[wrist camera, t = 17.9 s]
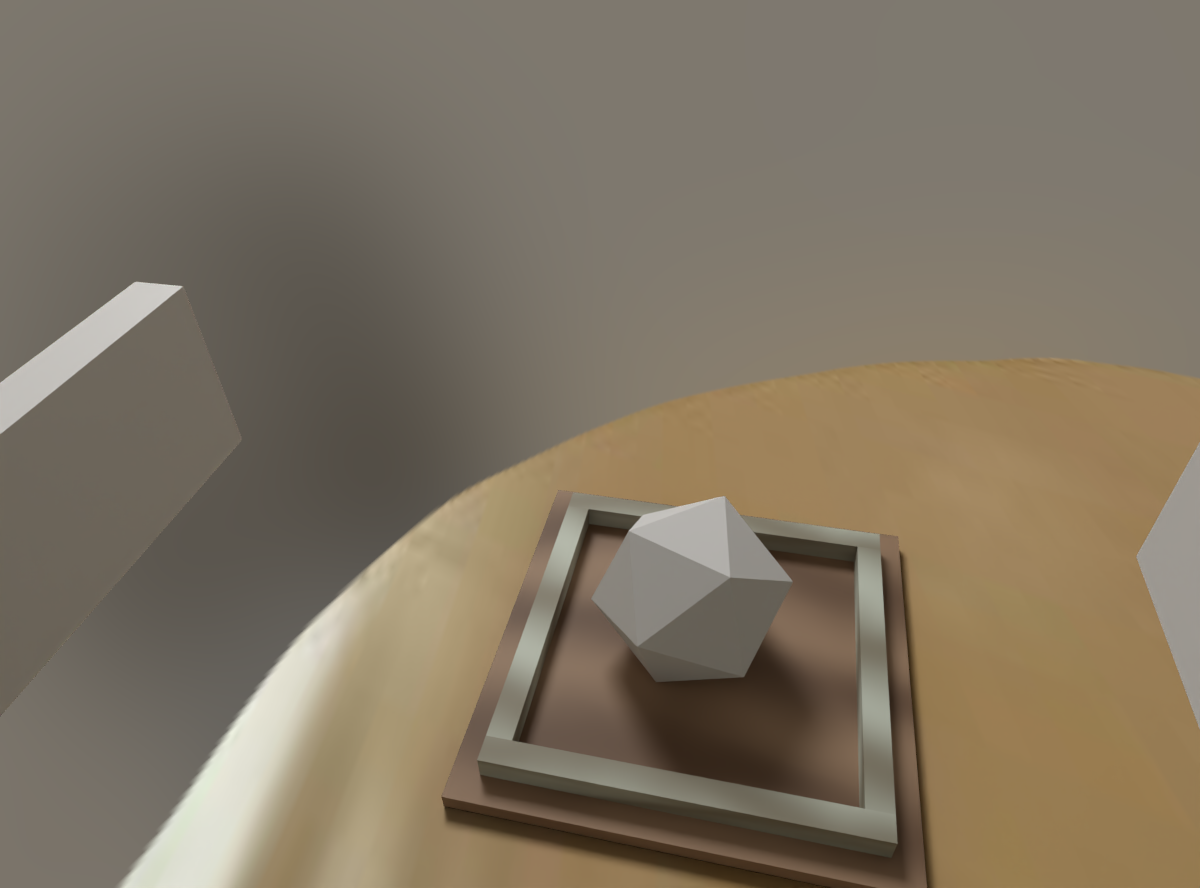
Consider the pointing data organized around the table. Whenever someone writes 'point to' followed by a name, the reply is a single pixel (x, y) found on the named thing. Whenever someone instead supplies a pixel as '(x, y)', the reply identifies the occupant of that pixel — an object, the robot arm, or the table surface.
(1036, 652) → the table surface
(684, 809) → the dice tray
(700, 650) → the die
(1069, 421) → the table surface
